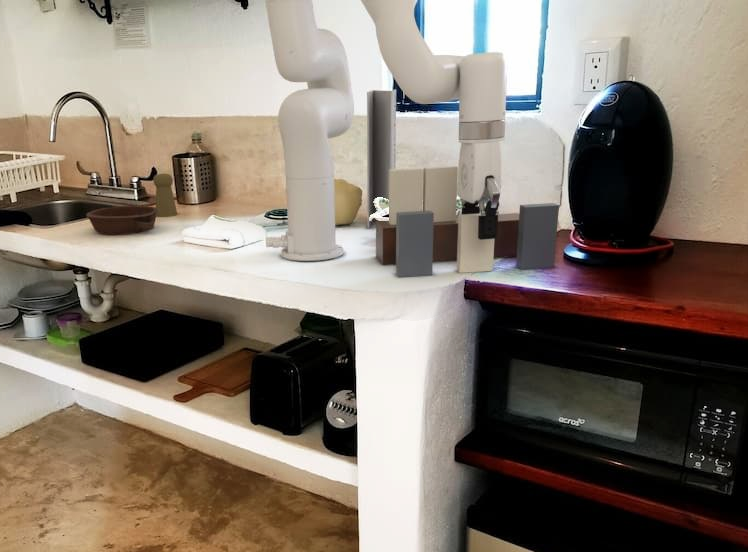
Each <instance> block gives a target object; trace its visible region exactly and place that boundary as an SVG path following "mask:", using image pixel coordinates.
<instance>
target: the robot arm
mask: <svg viewBox="0 0 748 552" xmlns="http://www.w3.org/2000/svg"><path fill="white" fill-rule="evenodd" d="M360 1H361V3H362V5H363V7H364V8H365V10H366V13H368V15H369V16H370V18H371V20H372V22H373V23H374V26H375V35H376V39H377V43H378V48H379V52H380V54H381V57H382V59H383V62H384V63H385V65H386V67H387V69H388V70H389V72H390V74H391V75H392V77H393V79H394V80H395V82H396V83H397V85H398V86H399V89H401V91H402V92H403V94H404V95H405V96H406V97H407V98H408V99H409V100H411V101H412V102H414V103H417V104H420V105H429V104H439V103H445V102H446V103H447V102H453V101H456V100H458V102H459V103H458V107H459V108H458V143H460V149H459V157H458V177H457V197H458V198H459V199H461V215H462V214H479V213H481V216H478V239H480V240H484V239H496V238H497V234H498V214H500V209H499V207H500V205H501V204H500V197H501V189H502V188H501V187H502V152H501V151H502V150H501V142H502V141H503V142H504V141H505V137H506V113H507V112H506V110H507V85H508V58H507V56H506V55H505V54H504V53H503V52H498V51H494V52H493V51H491V52H479V53H478V52H477V53H470V54H467V55H455V54H454V55H452V54H451V55H450V54H434V53H433V51H432V50H431V49H430V47H429V45H428V43H427V42H426V40H425V39H424V37H423V35H422V33H421V32H420V30H419V27H418V25H417V22H416V18H415V8H416V4H417V3H418V0H360ZM264 4H265V7H266V12H267V21H268V26H269V31H270V32H269V33H270V38H271V43H272V50H273V56H274V61H275V65H276V69H277V71H278V73H279V75H280V76H281V78H283V79H284V80H285V81H288V82H290V83H306V84H307V88H305V89H304V88H303V89H298V90H296V91H293V92H291V93H290V94H288V95H286V97H285V98H284V99H283V101H282V103H281V105H280V107H279V109H278V114H277V115H278V117H277V120H278V122H277V123H278V128H279V134H280V138H281V143H282V149H283V156H284V157H283V158H284V169H285V170H284V173H285V175H284V176H285V189H286V190H285V192H286V212H287V213H286V214H287V230H286V231H285V234H281V235H280V236H278V237H277V236H276V237H275V236H269V237H268V236H267V237H265V246H266V247H265V248H272V249H277V248H282V249H281V250H280V251H281V252H280V253H281V257H282V258H284V259H286V260H290V261H297V262H298V261H300V262H318V261H327V260H331V259H335V258H339V257H341V256H342V255H344V252H345V251H344V247H343V246H342V245H340V244H336V243H337V241H336V225H335V193H334V179H335V164H334V156H333V152H332V148H331V145H330V141H329V139H332V138H337V137H340V136H342V135H344V134H345V133H347V131H348V130H349V129H350V127H351V125H352V124H353V121H354V116H355V103H354V102H355V101H354V95H353V88H352V82H351V74H350V70H349V62H348V57H347V52H346V49H345V47H344V44H343V42H342V40H341V39H340V37H338V36H337V34H336V33H335V32H333V31H331V30H330V29H325V28H319V27H318V25H317V21H316V17H315V12H314V4H313V0H264Z"/></svg>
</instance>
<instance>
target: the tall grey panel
mask: <svg viewBox="0 0 748 552" xmlns="http://www.w3.org/2000/svg"><path fill="white" fill-rule="evenodd" d="M366 147H367V148H366V152H367V153H366V166H367V167H366V172H367V174H366V176H367V177H366V179H367V181H366V182H367V183H366V184H367V187H366V189H367V190H366V192H367V193H366V195H367V196H366V197H367V199H366V200H367V202H366V203H367V205H366V207H367V208H366V209H367V210H366V211H367V230H370V227H371V225H372V223H373V221H372V222H371V221H369V217H370V215H371V214H373V213H375V212H376V211H377V210H376V208H375V206H374V203H373V201H374V199H375V198H377V197H383V198H386V199H388V200H389V170H390V169H396V162H397V161H396V157H397V155H396V153H397V150H396V147H397V89H396V88H395V89H392V90H379V89H378V90H377V89H375V90H374V89H373V90H369V91H367V92H366Z"/></svg>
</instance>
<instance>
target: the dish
mask: <svg viewBox="0 0 748 552" xmlns="http://www.w3.org/2000/svg"><path fill="white" fill-rule="evenodd" d="M157 212H158V208H156V206H149V205H120V206H112V207H104V208H102V207H101V208H98V209H94V210H92V211H89V212H87V213H86V214H85V216H86V218H87V219H88V220H89V221H90V223H91V225H92V228H93V229H94V230H95V231H96V232H97V233H100V234H105V235H125V234H134V233H141V232H144V231H151V230H153V229H154V228H155V223H156V219H157V216H156V214H157Z"/></svg>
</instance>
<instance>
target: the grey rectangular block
mask: <svg viewBox="0 0 748 552" xmlns="http://www.w3.org/2000/svg"><path fill="white" fill-rule="evenodd" d="M559 211H560V205H559V204H557V203H555V202H549V203H545V202H544V203H531V204H520V205H519V212H518V214H519V227H518V243H517V257H515V267H516V268H518V269H519V270H533V269H551V268H555V260H556V259H555V258H556V247H557V234H558V224H559Z"/></svg>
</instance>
